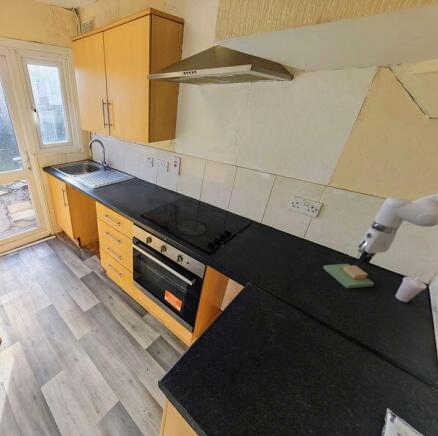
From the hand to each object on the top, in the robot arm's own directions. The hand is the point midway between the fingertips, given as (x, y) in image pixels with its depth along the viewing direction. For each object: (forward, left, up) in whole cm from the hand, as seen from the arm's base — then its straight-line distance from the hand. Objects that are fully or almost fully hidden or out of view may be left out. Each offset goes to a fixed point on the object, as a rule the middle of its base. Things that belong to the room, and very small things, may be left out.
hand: (363, 262), depth 101 cm
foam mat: (+3, 0, -9) cm, 10 cm away
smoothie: (-9, +14, -9) cm, 19 cm away
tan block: (0, 0, -9) cm, 9 cm away
